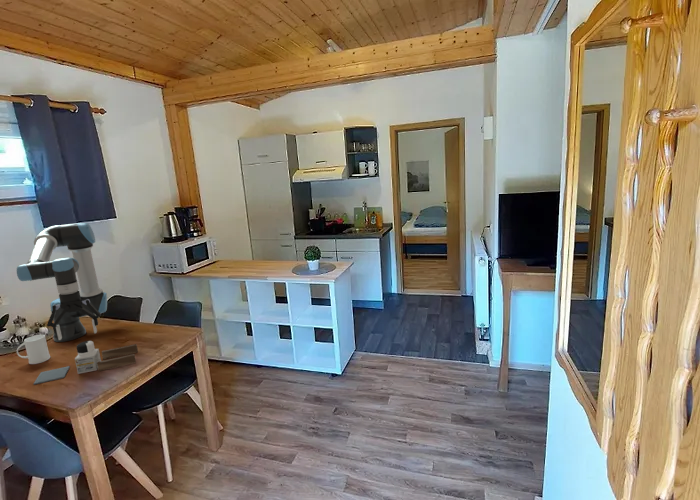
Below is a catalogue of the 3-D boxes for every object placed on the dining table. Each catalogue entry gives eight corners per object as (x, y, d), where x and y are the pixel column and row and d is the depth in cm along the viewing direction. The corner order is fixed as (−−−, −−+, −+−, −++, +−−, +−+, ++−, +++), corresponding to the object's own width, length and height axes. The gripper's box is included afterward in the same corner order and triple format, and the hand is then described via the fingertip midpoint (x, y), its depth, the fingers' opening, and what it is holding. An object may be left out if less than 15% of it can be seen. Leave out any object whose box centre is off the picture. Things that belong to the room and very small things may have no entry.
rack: (103, 358, 185) (102, 351, 184) (137, 351, 191) (136, 343, 190) (98, 371, 172) (97, 363, 171) (135, 362, 178) (134, 355, 178)
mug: (19, 368, 179) (13, 345, 177) (21, 361, 186) (15, 339, 184) (50, 360, 186) (44, 338, 183) (51, 354, 193) (46, 332, 190)
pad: (41, 373, 173) (41, 372, 173) (69, 367, 178) (69, 365, 178) (33, 384, 163) (33, 383, 163) (64, 377, 168) (63, 376, 168)
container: (77, 374, 171) (71, 348, 168) (83, 366, 178) (77, 341, 175) (97, 370, 173) (91, 344, 170) (101, 362, 180) (96, 338, 178)
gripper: (31, 299, 159) (42, 345, 164) (100, 289, 170) (108, 332, 175) (36, 295, 166) (47, 339, 170) (102, 285, 177) (110, 326, 181)
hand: (78, 335), depth 172 cm, fingers open, 13 cm apart
